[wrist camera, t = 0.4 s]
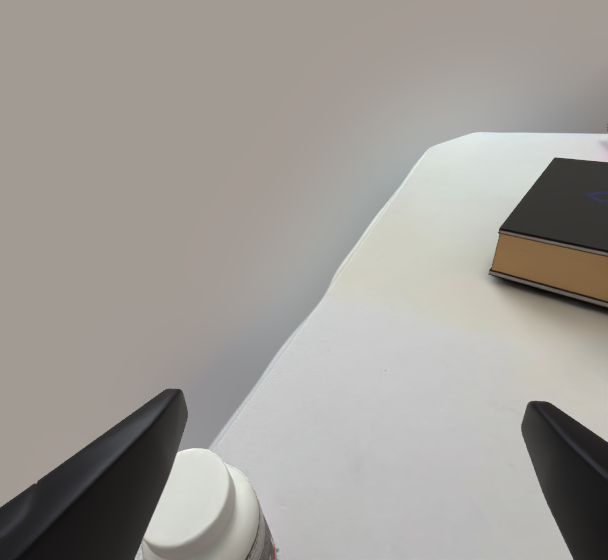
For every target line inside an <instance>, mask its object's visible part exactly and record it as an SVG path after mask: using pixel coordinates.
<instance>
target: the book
mask: <svg viewBox="0 0 608 560" xmlns="http://www.w3.org/2000/svg"><path fill="white" fill-rule="evenodd" d="M498 233H499V234H500V235H499V239H498V243H497V247H496V251H495V256H494V260H493V264H492V267H491V269H490V270H489V275H493V276H496V277H500V278H503V279H507V280H510V281H514V282H517V283H521V284H524V285H528V286H532V287H535V288H539V289H542V290H546V291H549V292H553V293H556V294H560V295H563V296H567V297H571V298H574V299H578V300H581V301H585V302H588V303H592V304H595V305H599V306H602V307H606V308H608V162H597V161H587V160H576V159H565V158H554V159H553V160H552V162H551V163H550V164H549V165H548V167H547V168H546V169H545V171H544V172H543V173H542V174H541V176H540V177H539V178H538V180H537V181H536V182H535V183H534V185H533V186H532V187H531V189H530V190H529V191H528V192H527V194H526V195H525V196H524V198H523V199H522V200H521V201H520V203H519V204H518V205H517V207H516V208H515V209H514V210H513V212H512V213H511V214H510V216H509V217H508V218H507V219H506V221H505V222H504V223H503V225H502V226H501V227H500V229H499V232H498Z"/></svg>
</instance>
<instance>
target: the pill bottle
mask: <svg viewBox="0 0 608 560" xmlns="http://www.w3.org/2000/svg"><path fill="white" fill-rule="evenodd" d="M142 555H143V559H144V560H277V555H276V549H275V545H274V541H273V538H272V535H271V533H270V530H269V527H268V525H267V522H266V520H265V517H264V515H263V512H262V509H261V506H260V504H259V501H258V499H257V496H256V492H255V490H254V489H253V486H252V485H251V483H250V481H249V480H248V479H247V477H246V476H245V475H244V474H243V473H242V472H241V471H240V470H238V469H237V468H235V467H233V466H231V465H228V464H225V463H224V462H223V460H222V459H221V458H220V457H219V456H218V455H217V454H215V453H214V452H211V451H209V450H206V449H199V448H193V449H187V450H183V451H181V452H178V453H177V454H176V457H175V461H174V464H173V467H172V470H171V473H170V476H169V478H168V481H167V483H166V486H165V488H164V490H163V493H162V495H161V497H160V500H159V502H158V504H157V507H156V509H155V511H154V514H153V516H152V518H151V521H150V523H149V525H148V528H147V530H146V533H145V535H144V537H143V540H142Z"/></svg>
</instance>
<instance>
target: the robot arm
mask: <svg viewBox="0 0 608 560" xmlns="http://www.w3.org/2000/svg"><path fill="white" fill-rule="evenodd" d="M187 418H188V411H187V406H186V402H185V398H184V394H183V392H182V390H180V389H166V390H164V391H163V392H161V393H160V394H158V395H157V396H156V397H155V398H153V399H151V400H150V401H149V402H147V403H146V404H145V405H143V406H142V407H141V408H139V409H138V410H136V411H135V412H133V413H132V414H131V415H129V416H128V417H126V418H125V419H124V420H122V421H121V422H120V423H118V424H117V425H115V426H114V427H112V428H111V429H110V430H108V431H107V432H106V433H104V434H103V435H101V436H100V437H99V438H97V439H96V440H94V441H93V442H92V443H90V444H89V445H87V446H86V447H85V448H83V449H82V450H80V451H79V452H78V453H76V454H75V455H74V456H72V457H71V458H69V459H68V460H66V461H65V462H64V463H62V464H61V465H60V466H58V467H57V468H55V469H54V470H53V471H51V472H50V473H48V474H47V475H46V476H44V477H43V478H41V479H40V480H39V481H38V482H37V484H33V485H31V486H30V487H29V488H27V489H26V490H25V491H23V492H22V493H20V494H19V495H18V496H16V497H15V498H13V499H12V500H10V501H9V502H7V503H6V504H5V505H3V506H2V507H0V560H134V558H135V556H136V554H137V551H138V549H139V547H140V544H141V542H142V540H143V537H144V535H145V533H146V530H147V528H148V525H149V523H150V521H151V518H152V516H153V514H154V511H155V509H156V507H157V504H158V502H159V500H160V497H161V495H162V493H163V490H164V488H165V486H166V483H167V481H168V478H169V476H170V473H171V470H172V467H173V464H174V461H175V457H176V454H177V451H178V448H179V444H180V441H181V438H182V435H183V432H184V428H185V425H186V422H187ZM521 431H522V435H523V438H524V441H525V444H526V447H527V449H528V452H529V455H530V458H531V461H532V464H533V466H534V469H535V472H536V475H537V478H538V481H539V483H540V486H541V489H542V492H543V494H544V497H545V499H546V501H547V504H548V506H549V508H550V510H551V512H552V515H553V517H554V519H555V521H556V523H557V525H558V527H559V529H560V532H561V534H562V536H563V538H564V540H565V542H566V544H567V547H568V549H569V551H570V553H571V555H572V557H573V559H574V560H608V442H607V441H605V440H604V439H602V438H601V437H599V436H598V435H596V434H595V433H593V432H592V431H590V430H589V429H588V428H586V427H585V426H583V425H582V424H580V423H579V422H577V421H576V420H574V419H573V418H571V417H570V416H569V415H567V414H566V413H564V412H563V411H561V410H560V409H558V408H557V407H555V406H554V405H552V404H551V403H549V402H545V401H531V402H529V403H528V405H527V408H526V411H525V414H524V418H523V421H522V425H521Z"/></svg>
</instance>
